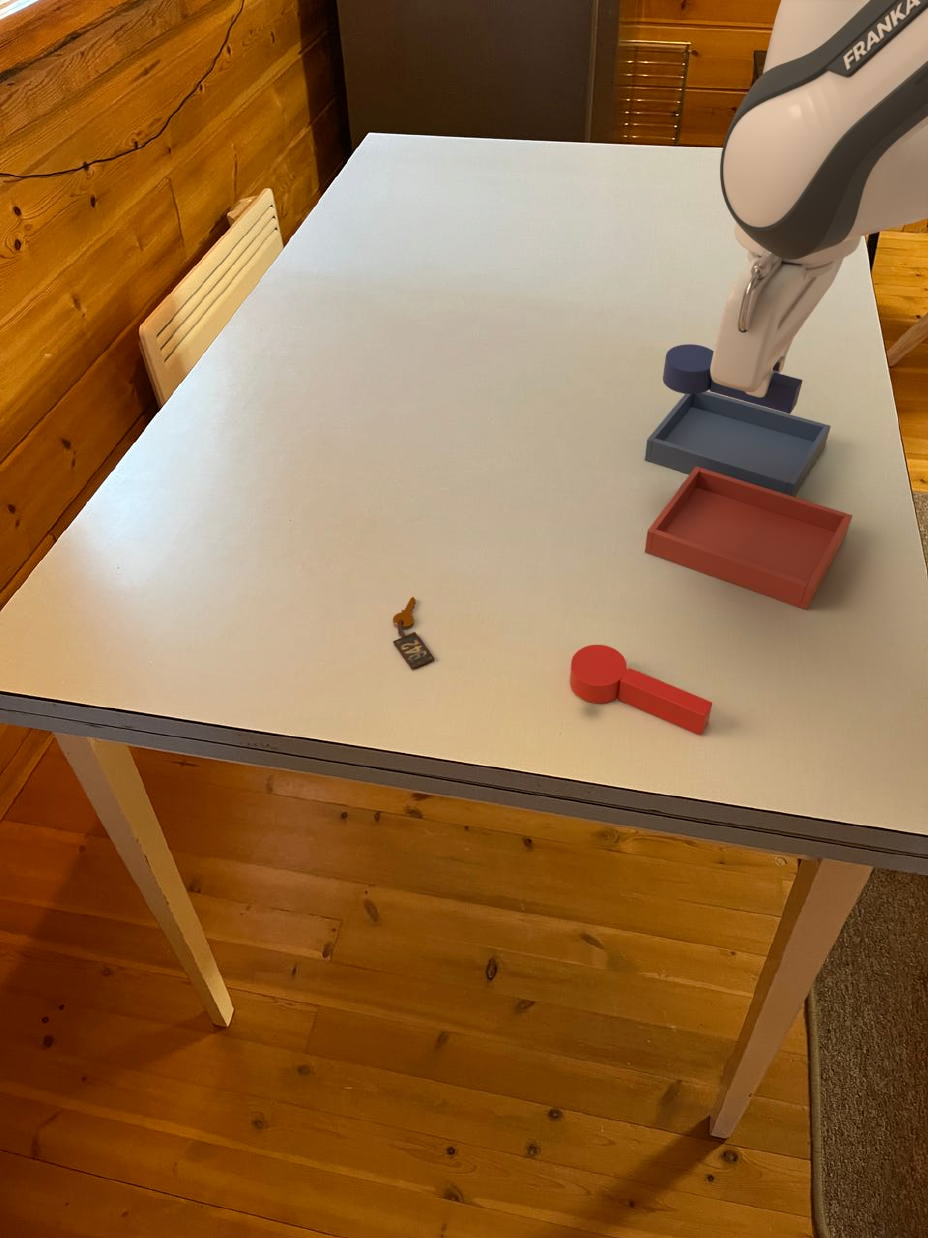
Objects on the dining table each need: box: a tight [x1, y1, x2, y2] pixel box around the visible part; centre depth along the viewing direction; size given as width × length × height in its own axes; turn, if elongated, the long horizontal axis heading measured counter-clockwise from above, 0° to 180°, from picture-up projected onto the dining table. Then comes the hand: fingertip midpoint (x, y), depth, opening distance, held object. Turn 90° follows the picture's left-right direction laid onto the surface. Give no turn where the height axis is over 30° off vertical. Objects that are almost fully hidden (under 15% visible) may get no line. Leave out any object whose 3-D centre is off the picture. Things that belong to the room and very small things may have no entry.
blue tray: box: [644, 391, 832, 497], centre depth 95 cm, size 15×11×3 cm
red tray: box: [644, 466, 853, 610], centre depth 85 cm, size 15×11×3 cm
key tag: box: [392, 596, 435, 670], centre depth 80 cm, size 8×3×1 cm, turn 15°
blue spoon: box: [662, 343, 803, 415], centre depth 78 cm, size 11×4×2 cm, turn 58°
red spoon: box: [569, 644, 713, 736], centre depth 73 cm, size 11×4×2 cm, turn 57°
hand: (762, 382), depth 77 cm, fingers closed on blue spoon, 1 cm apart
